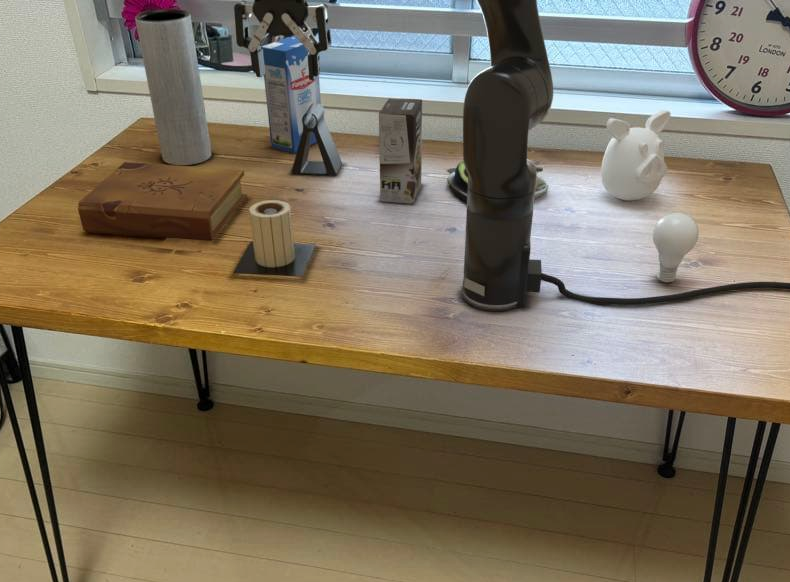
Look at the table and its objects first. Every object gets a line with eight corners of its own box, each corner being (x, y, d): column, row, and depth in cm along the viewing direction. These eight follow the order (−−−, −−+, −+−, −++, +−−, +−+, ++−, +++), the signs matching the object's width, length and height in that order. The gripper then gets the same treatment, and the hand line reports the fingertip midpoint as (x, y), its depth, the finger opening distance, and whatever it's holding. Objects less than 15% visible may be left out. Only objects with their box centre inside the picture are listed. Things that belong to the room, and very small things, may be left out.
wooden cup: (298, 250, 132) (293, 200, 126) (290, 268, 127) (284, 217, 122) (261, 248, 132) (255, 199, 127) (251, 266, 127) (244, 216, 122)
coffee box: (413, 204, 147) (414, 115, 137) (379, 202, 148) (377, 113, 138) (422, 184, 154) (423, 98, 144) (389, 182, 155) (388, 96, 145)
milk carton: (294, 153, 168) (285, 51, 155) (271, 147, 170) (260, 46, 158) (323, 138, 174) (316, 39, 162) (300, 133, 177) (292, 35, 165)
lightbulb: (679, 295, 120) (695, 227, 114) (638, 284, 123) (651, 217, 116) (691, 277, 125) (708, 211, 118) (651, 267, 127) (665, 201, 121)
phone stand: (342, 164, 162) (339, 104, 155) (336, 176, 158) (332, 114, 150) (298, 162, 164) (293, 102, 156) (291, 174, 159) (285, 112, 152)
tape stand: (316, 248, 134) (312, 197, 128) (302, 281, 125) (297, 228, 120) (251, 245, 135) (244, 194, 129) (233, 277, 126) (225, 224, 121)
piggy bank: (636, 217, 142) (652, 132, 132) (583, 197, 149) (594, 115, 139) (677, 198, 148) (694, 115, 139) (624, 179, 155) (637, 99, 146)
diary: (84, 235, 138) (76, 203, 135) (131, 191, 153) (124, 162, 149) (213, 244, 135) (207, 212, 132) (247, 198, 150) (243, 168, 146)
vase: (206, 166, 163) (183, 20, 146) (157, 166, 163) (128, 21, 146) (216, 148, 170) (195, 8, 154) (168, 148, 171) (142, 8, 154)
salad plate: (518, 163, 162) (520, 140, 159) (571, 195, 149) (574, 171, 147) (433, 180, 156) (433, 157, 153) (481, 216, 143) (482, 191, 140)
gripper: (219, -38, 113) (234, 82, 123) (317, -35, 111) (324, 87, 121) (238, -47, 119) (251, 68, 129) (331, -45, 117) (338, 72, 127)
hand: (287, 77), depth 125 cm, fingers open, 8 cm apart
